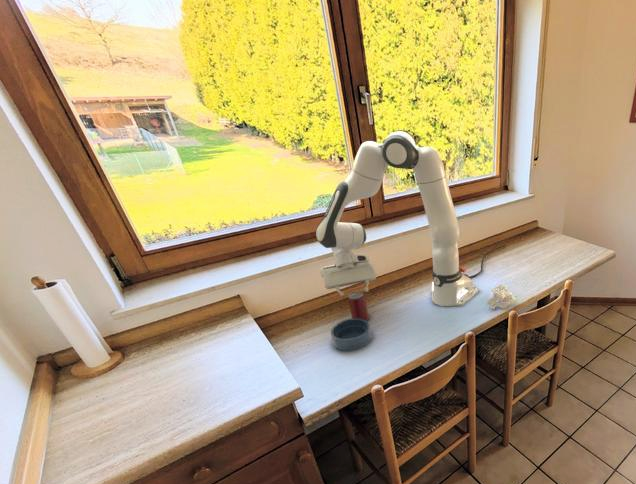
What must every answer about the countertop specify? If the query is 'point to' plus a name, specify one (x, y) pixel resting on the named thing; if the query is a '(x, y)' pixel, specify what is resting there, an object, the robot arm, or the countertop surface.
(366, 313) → the can
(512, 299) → the white irregular lump
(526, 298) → the countertop surface
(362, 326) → the bowl
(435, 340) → the countertop surface
